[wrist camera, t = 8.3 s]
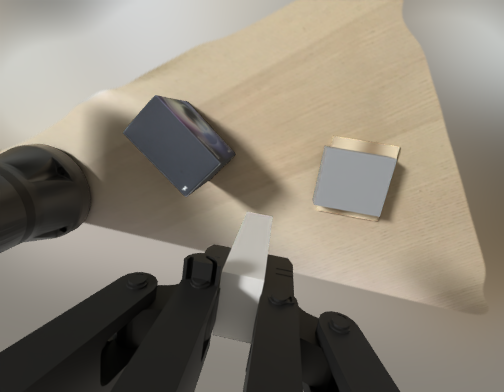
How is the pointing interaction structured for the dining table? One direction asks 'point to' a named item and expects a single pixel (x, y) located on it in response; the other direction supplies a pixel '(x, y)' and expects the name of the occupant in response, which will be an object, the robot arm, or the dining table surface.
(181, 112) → the small box
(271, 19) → the dining table surface
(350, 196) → the grey square slab
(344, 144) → the cork mat
